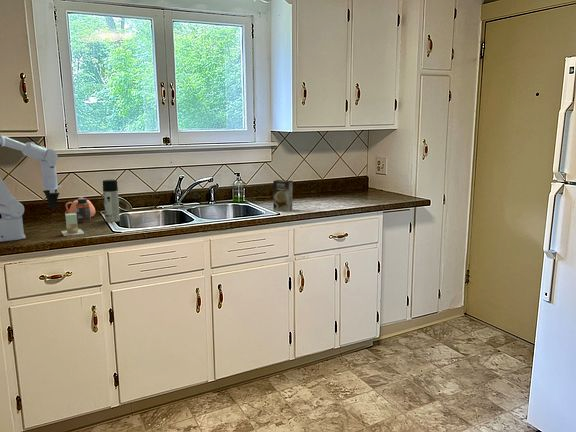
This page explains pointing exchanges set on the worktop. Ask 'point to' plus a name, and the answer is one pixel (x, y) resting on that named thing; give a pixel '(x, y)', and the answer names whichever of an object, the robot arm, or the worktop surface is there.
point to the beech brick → (72, 228)
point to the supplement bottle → (83, 210)
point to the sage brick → (71, 218)
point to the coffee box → (282, 195)
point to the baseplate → (72, 233)
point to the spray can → (111, 200)
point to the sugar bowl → (73, 210)
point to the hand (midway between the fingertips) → (52, 207)
